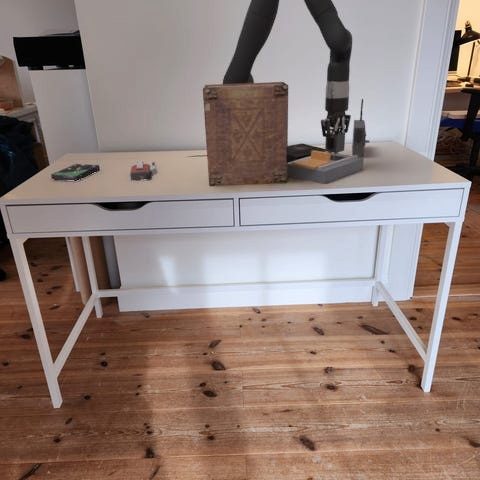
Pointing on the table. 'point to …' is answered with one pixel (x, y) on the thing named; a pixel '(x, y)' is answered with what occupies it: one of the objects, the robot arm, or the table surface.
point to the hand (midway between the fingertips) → (334, 147)
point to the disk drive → (75, 172)
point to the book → (246, 133)
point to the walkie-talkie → (142, 171)
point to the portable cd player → (301, 151)
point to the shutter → (314, 160)
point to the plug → (337, 143)
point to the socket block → (327, 168)
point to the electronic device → (359, 136)
